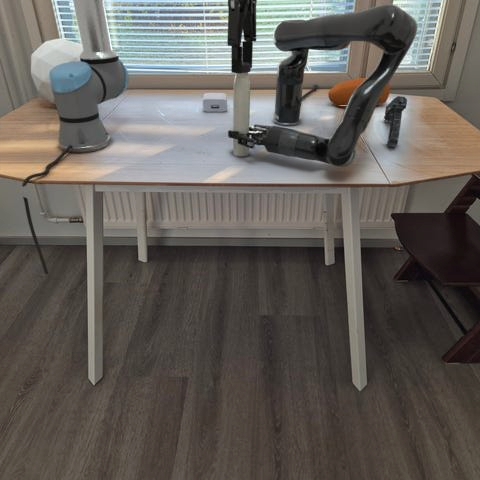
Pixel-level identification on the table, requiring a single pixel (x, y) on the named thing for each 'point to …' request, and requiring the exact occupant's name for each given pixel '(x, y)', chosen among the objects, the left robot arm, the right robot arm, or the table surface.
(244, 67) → the cap
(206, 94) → the charger
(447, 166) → the table surface
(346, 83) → the clog
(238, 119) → the bottle
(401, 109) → the futuristic handgun
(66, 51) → the decorative sphere
